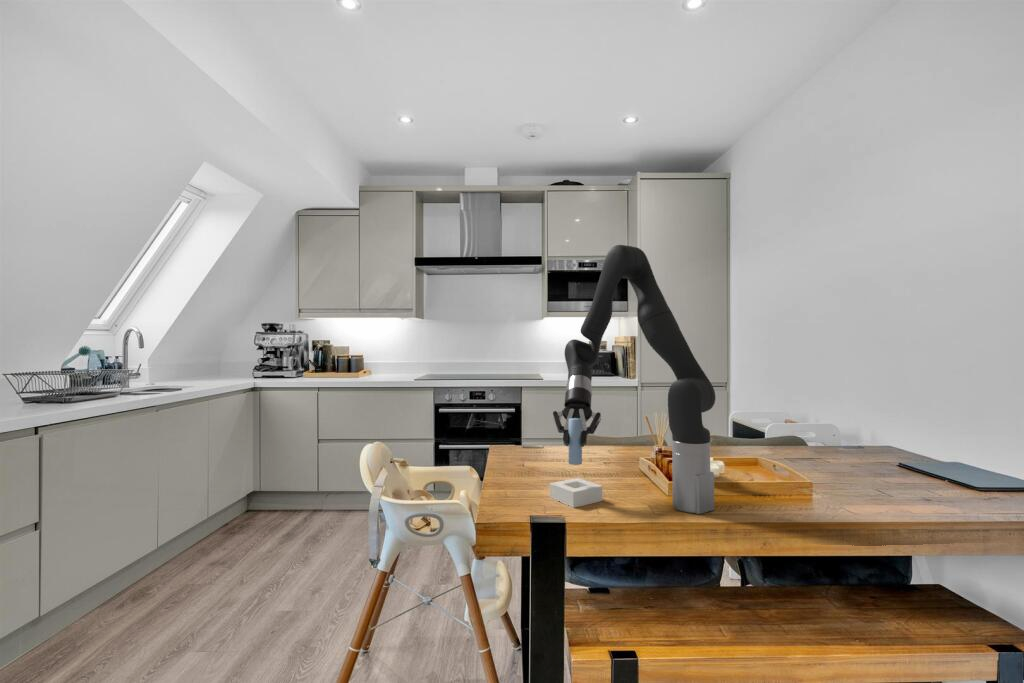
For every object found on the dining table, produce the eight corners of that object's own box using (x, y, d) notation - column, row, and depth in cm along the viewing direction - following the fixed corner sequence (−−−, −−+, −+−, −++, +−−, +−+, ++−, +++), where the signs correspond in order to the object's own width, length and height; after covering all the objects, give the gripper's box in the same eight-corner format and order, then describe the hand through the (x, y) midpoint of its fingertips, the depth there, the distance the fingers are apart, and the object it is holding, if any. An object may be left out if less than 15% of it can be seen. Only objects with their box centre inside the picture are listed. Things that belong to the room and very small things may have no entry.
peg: (584, 463, 141) (584, 419, 141) (574, 465, 139) (574, 420, 139) (576, 461, 144) (576, 417, 144) (565, 462, 142) (565, 418, 142)
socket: (602, 500, 140) (602, 486, 140) (573, 507, 134) (573, 492, 134) (578, 491, 148) (578, 477, 148) (550, 497, 143) (549, 483, 143)
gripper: (552, 385, 150) (546, 435, 138) (602, 386, 147) (600, 437, 135) (555, 401, 155) (549, 451, 144) (603, 403, 152) (601, 453, 141)
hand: (574, 444), depth 140 cm, fingers closed on peg, 3 cm apart
